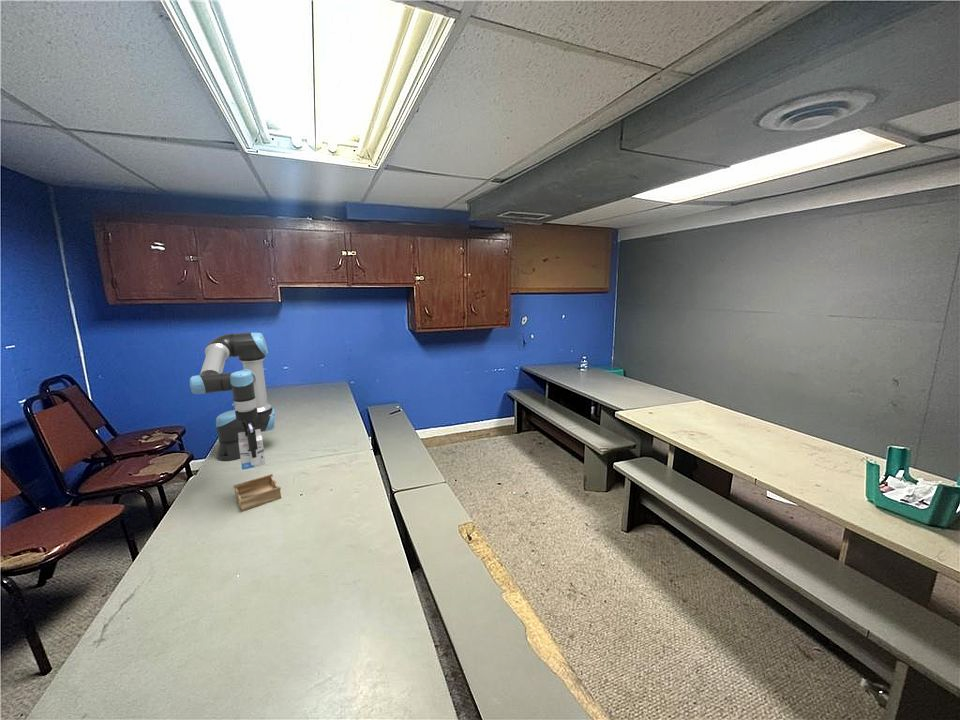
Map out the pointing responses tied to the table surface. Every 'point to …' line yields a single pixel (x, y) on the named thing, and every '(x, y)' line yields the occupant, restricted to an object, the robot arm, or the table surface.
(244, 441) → the ink box
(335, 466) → the table surface
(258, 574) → the table surface
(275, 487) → the crate
